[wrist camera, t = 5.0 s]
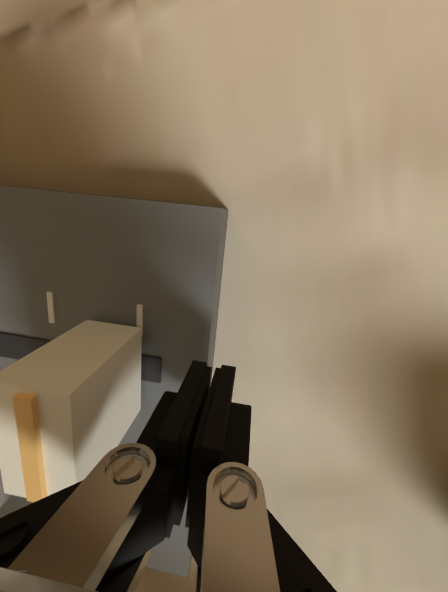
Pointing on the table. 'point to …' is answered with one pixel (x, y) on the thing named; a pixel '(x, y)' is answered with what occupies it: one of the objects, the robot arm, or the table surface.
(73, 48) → the table surface
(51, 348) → the fader tab
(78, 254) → the console
